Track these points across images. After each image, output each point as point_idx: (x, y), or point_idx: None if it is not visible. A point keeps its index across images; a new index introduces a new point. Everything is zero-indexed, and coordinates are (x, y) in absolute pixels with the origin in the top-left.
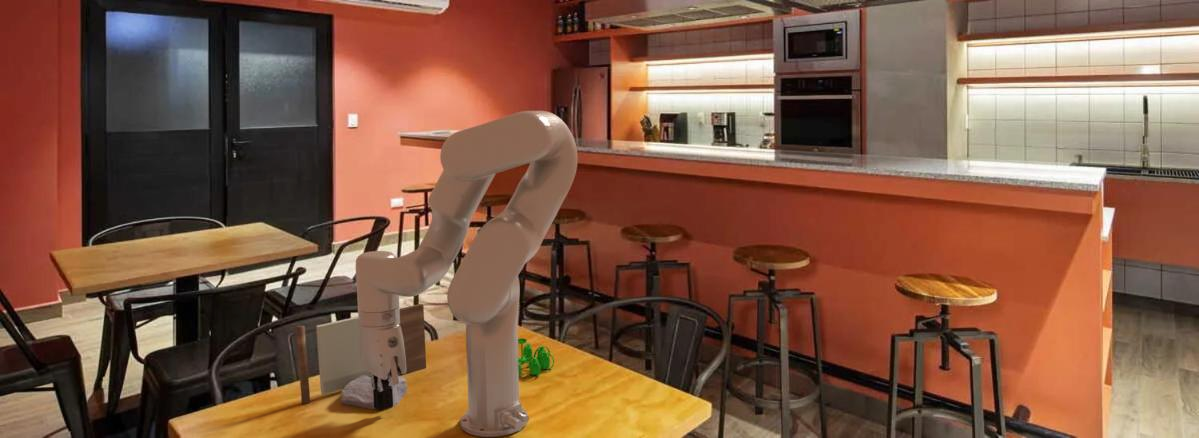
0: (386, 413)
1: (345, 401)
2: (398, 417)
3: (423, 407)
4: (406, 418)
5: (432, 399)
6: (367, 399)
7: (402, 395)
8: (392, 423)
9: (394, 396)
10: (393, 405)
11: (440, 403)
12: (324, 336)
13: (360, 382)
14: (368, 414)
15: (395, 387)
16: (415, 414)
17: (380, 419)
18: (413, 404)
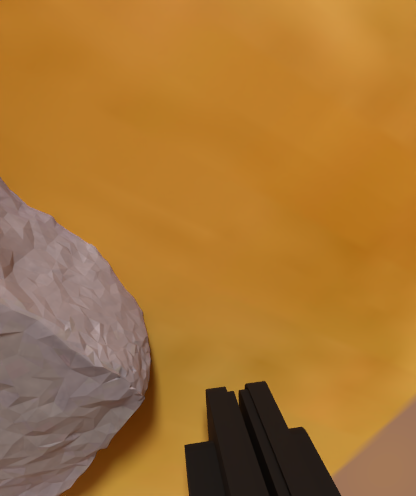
0: (204, 373)
1: None
2: (308, 339)
3: (292, 150)
4: (354, 309)
5: (209, 13)
6: (35, 486)
7: (1, 186)
8: (351, 390)
9: (106, 313)
10: (136, 308)
11: (322, 8)
12: None
13: None
14: (144, 454)
15: (35, 305)
16: (347, 244)
17: None
18: (194, 181)
